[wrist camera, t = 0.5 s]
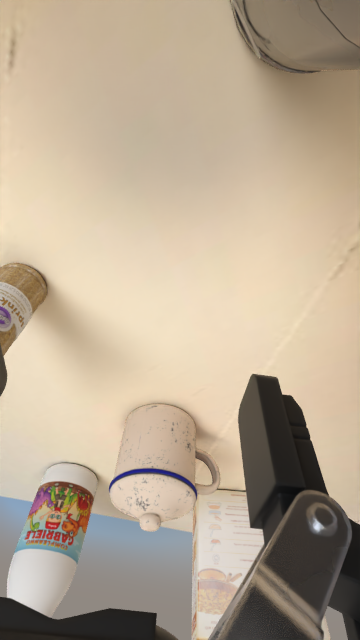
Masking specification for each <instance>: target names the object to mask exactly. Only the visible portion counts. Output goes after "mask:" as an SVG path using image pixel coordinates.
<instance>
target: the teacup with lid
mask: <svg viewBox="0 0 360 640" xmlns="http://www.w3.org/2000/svg"><path fill="white" fill-rule="evenodd" d="M195 458H197V459H199V460H201V461H203V462H204V463H205V464H206V465H207V466H208V468H209V469H210V471H211V474H212V479H213V482H212V484H211V485H209V486H205V485H200V484H196V483H195ZM219 484H220V472H219V468H218V466H217V464H216V462H215V461H214V459H213V458H212V457H211V456H210V455H209V454H208V453H206V452H204V451H202V450H199V449H196V427H195V423H194V421H193V419H192V418H191V417H190V416H189V415H188V414H187V413H186V412H184V411H183V410H181V409H179V408H177V407H174V406H171V405H165V404H149V405H145V406H142V407H139V408H137V409H135V410H134V411H133V412H131V413H130V415H129V416H128V417H127V419H126V422H125V427H124V431H123V436H122V441H121V446H120V450H119V455H118V460H117V464H116V469H115V474H114V479H113V480H112V482H111V483H110V486H109V493H110V499H111V501H112V503H113V505H114V506H115V507H116V508H117V509H118V510H120V511H121V512H123V513H124V514H126V515H129V516H131V517H134V518H136V519H138V520H140V527H141V528H142V529H143V530H145V531H156V530H158V529H159V527H160V523H161V522H164V521H168V520H174V519H177V518H180V517H182V516H184V515H186V514H188V513H189V512H190V511H191V510H192V509H193V507H194V506H195V503H196V500H197V494H199V495H209V494H212V493H213V492H214V491H216V489H217V488H218V487H219Z"/></svg>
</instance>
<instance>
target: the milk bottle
mask: <svg viewBox="0 0 360 640" xmlns="http://www.w3.org/2000/svg"><path fill="white" fill-rule="evenodd" d="M96 489H97V478H96V476H95V474H94V473H93V472H92V471H90V470H89V469H87V468H85V467H83V466H80V465H76V464H70V463H60V464H56V465H53V466H51V467H50V468H49V469H48V470H47V471H46V472H45V474H44V477H43V479H42V482H41V484H40V487H39V489H38V492H37V494H36V497H35V500H34V502H33V505H32V507H31V510H30V513H29V515H28V518H27V520H26V523H25V526H24V528H23V531H22V534H21V536H20V539H19V542H18V544H17V547H16V550H15V553H14V556H13V559H12V562H11V565H10V569H9V574H8V581H7V598H11V599H13V600H16V601H18V602H20V603H22V604H24V605H26V606H28V607H30V608H32V609H34V610H36V611H38V612H40V613H42V614H44V615H46V616H48V617H50V618H51V616H52V614H53V613H54V611H55V609H56V608H57V606H58V605H59V603H60V602H61V600H62V599H63V597H64V596H65V594H66V592H67V590H68V588H69V586H70V584H71V582H72V579H73V577H74V574H75V571H76V567H77V564H78V560H79V557H80V553H81V549H82V545H83V541H84V537H85V533H86V529H87V525H88V521H89V517H90V513H91V509H92V505H93V501H94V497H95V493H96Z"/></svg>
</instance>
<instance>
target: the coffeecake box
mask: <svg viewBox="0 0 360 640" xmlns="http://www.w3.org/2000/svg"><path fill="white" fill-rule="evenodd" d="M263 544H264V537H263V530H262V529H254V528H250V521H249V513H248V504H247V495H246V492H240V491H228V490H216V491H214V492H213V493H212V494H209V495H199V494H197V500H196V503H195V506H194V508H193V565H192V569H193V570H192V571H193V572H192V640H208V639H209V637H210V635H211V633H212V632H213V630H214V628H215V627H216V625H217V623H218V622H219V620H220V618H221V617H222V615H223V614H224V612H225V610H226V609H227V607H228V605H229V604H230V602H231V600H232V598H233V597H234V595H235V593H236V591H237V590H238V588H239V586H240V584H241V583H242V581H243V579H244V577H245V576H246V574H247V572H248V570H249V569H250V567H251V565H252V563H253V562H254V560H255V558H256V556H257V555H258V553H259V551H260V549H261V548H262V546H263ZM322 630H323V631H324V640H331V638H330V634H329V630H328V625H327V621H326V617H325V614H324V617H323V620H322Z"/></svg>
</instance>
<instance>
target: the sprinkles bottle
mask: <svg viewBox="0 0 360 640" xmlns="http://www.w3.org/2000/svg"><path fill="white" fill-rule="evenodd" d="M46 295H47V288H46V284H45V281H44V280H43V279H42V277H41V276H40V274H39V273H38V272H36V270H34V269H33V268H31V267H29V266H27V265H24V264H19V263H11V264H7V265H4V266H3V267H1V268H0V344H1V348H2V353H3V356H4V355H5V353H6V352H7V350H8V349H9V347H10V346H11V345H12V343H13V342H14V341H15V340H16V339H17V337H18V336H19V334H20V333H21V332H22V330H23V329H24V327H25V326H26V325H27V323H28V322H29V320H30V319H31V316H32V314H33V313H34V312H35V310H36V309H37V307H38V306H39V305H40V304H41V303H42V302H43V301H44V300H45V298H46Z"/></svg>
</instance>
